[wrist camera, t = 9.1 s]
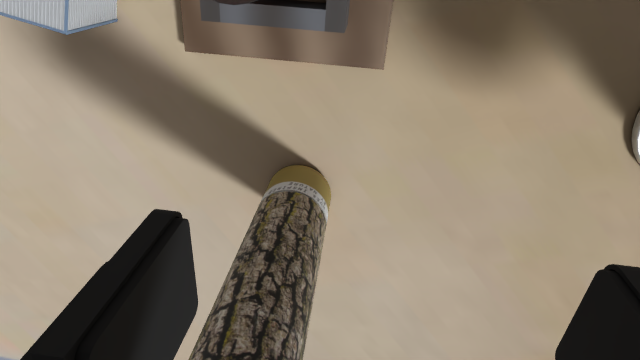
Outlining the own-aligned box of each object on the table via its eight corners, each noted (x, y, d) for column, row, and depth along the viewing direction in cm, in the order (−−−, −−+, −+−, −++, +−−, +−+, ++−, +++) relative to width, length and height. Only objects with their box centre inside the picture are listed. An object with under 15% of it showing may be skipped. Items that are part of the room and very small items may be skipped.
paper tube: (261, 168, 43) (149, 382, 22) (323, 156, 42) (268, 374, 20) (280, 220, 46) (198, 453, 25) (338, 211, 45) (304, 452, 23)
